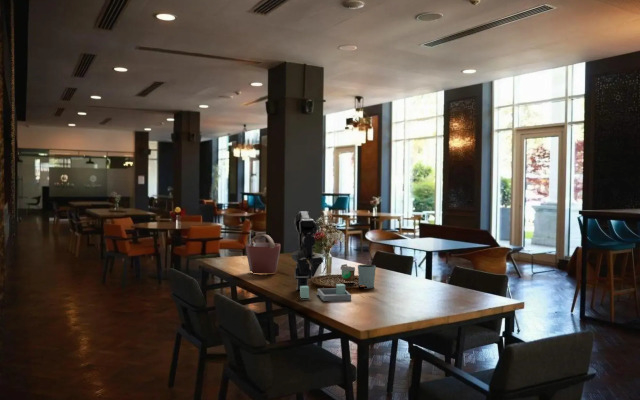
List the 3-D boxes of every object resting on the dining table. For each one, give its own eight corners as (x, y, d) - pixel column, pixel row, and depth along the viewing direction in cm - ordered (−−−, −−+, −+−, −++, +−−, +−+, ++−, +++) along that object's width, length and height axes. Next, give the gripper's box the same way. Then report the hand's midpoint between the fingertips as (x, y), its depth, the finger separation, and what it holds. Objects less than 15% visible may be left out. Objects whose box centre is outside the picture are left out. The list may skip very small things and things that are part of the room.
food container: (337, 281, 304) (337, 264, 304) (346, 280, 306) (346, 264, 306) (345, 285, 293) (345, 267, 292) (355, 284, 295) (355, 267, 295)
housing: (317, 294, 268) (317, 282, 267) (343, 293, 270) (343, 281, 270) (323, 302, 251) (323, 288, 251) (351, 300, 253) (351, 287, 253)
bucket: (242, 271, 339) (242, 233, 338) (274, 268, 348) (274, 232, 347) (252, 277, 316) (252, 237, 315) (286, 274, 325) (286, 235, 324)
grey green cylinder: (354, 287, 286) (354, 266, 286) (361, 284, 295) (362, 263, 295) (371, 289, 282) (371, 267, 281) (378, 286, 291) (378, 265, 290)
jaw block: (300, 297, 260) (300, 286, 260) (307, 297, 261) (307, 285, 261) (301, 299, 257) (301, 287, 256) (309, 299, 257) (309, 287, 257)
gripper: (283, 243, 257) (283, 273, 258) (305, 248, 243) (305, 280, 244) (300, 241, 264) (300, 271, 265) (323, 245, 250) (323, 277, 251)
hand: (307, 275), depth 256 cm, fingers open, 9 cm apart
